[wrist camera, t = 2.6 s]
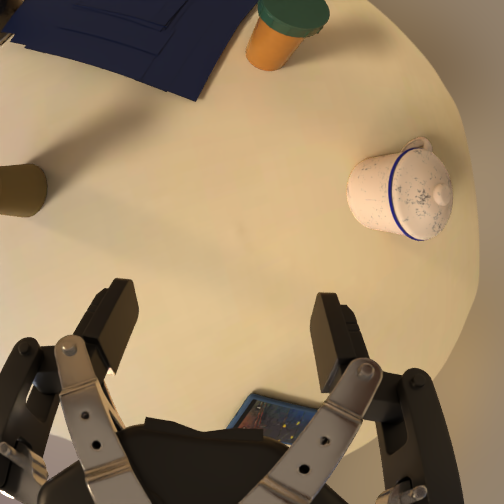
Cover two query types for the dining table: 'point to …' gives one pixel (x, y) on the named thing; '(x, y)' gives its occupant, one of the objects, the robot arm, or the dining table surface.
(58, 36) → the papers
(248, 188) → the dining table surface
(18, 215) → the brown rounded tall piece
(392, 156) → the teacup with lid
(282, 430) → the smartphone
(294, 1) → the lid
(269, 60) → the jar
